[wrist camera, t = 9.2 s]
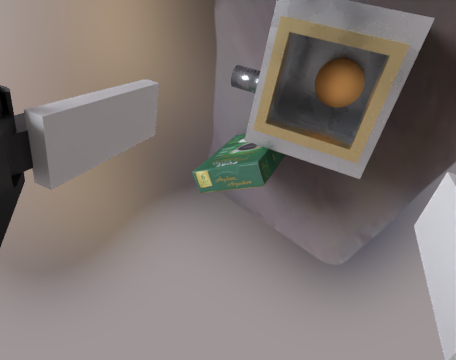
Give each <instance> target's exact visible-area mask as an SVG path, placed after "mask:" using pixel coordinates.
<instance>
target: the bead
mask: <svg viewBox="0 0 456 360" xmlns="http://www.w3.org/2000/svg"><path fill="white" fill-rule="evenodd" d="M364 83H365V78H364V73H363V71H362V69H361V67H360V66H359V65H358V64H357V63H355V62H354V61H352V60H350V59H345V58H339V59H334V60H332V61H329V62H328V63H326V64H325V65H324V66H323V67H322V68H321V69H320V70H319V72H318V74H317V76H316V79H315V92H316V95H317V97H318V98H319V100H320V101H321V102H322V103H324V104H325V105H327V106H330V107H335V108H340V107H345V106H347V105H350V104H351V103H353V102H354V101H355V100H356V99H357V98H358V97H359V96H360V94H361V93H362V91H363V88H364Z"/></svg>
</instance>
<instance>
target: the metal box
mask: <svg viewBox="0 0 456 360" xmlns="http://www.w3.org/2000/svg"><path fill="white" fill-rule="evenodd" d="M434 19H435V18H431V17H426V16H421V15H416V14H411V13H407V12H402V11H397V10H392V9H387V8H382V7H377V6H372V5H367V4H362V3H357V2H352V1H348V0H277V2H276V6H275V11H274V15H273V19H272V24H271V28H270V32H269V37H268V41H267V45H266V50H265V54H264V58H263V62H262V67H261V71H258V70H254V69H251V68H247V67H243V66H240V65H237V66H236V67H235V69H234V71H233V74H232V78H231V85H232V87H236V88H239V89H242V90H246V91H249V92H253V93H255V97H254V101H253V106H252V110H251V114H250V119H249V123H248V127H247V132H246V136H245V140H244V141H247V142H250V143H253V144H256V145H259V146H262V147H265V148H268V149H271V150H274V151H277V152H280V153H283V154H286V155H289V156H292V157H295V158H298V159H301V160H304V161H307V162H310V163H313V164H316V165H319V166H322V167H325V168H328V169H331V170H334V171H337V172H340V173H343V174H346V175H349V176H352V177H355V178H358V179H360V178H361V176H362V174H363V171H364V169H365V167H366V165H367V163H368V161H369V159H370V156H371V154H372V152H373V150H374V148H375V146H376V143H377V141H378V139H379V137H380V135H381V133H382V131H383V128H384V126H385V124H386V122H387V120H388V118H389V116H390V113H391V111H392V109H393V107H394V105H395V103H396V100H397V98H398V96H399V94H400V92H401V90H402V88H403V85H404V83H405V81H406V79H407V77H408V75H409V73H410V70H411V68H412V66H413V64H414V62H415V60H416V57H417V55H418V53H419V51H420V49H421V47H422V45H423V42H424V40H425V38H426V36H427V34H428V32H429V30H430V27H431V25H432V23H433V21H434ZM339 58H345V59H350V60H352V61H354V62H355V63H357V64H358V65H359V66H360V67H361V69H362V71H363V73H364V78H365V83H364V88H363V91H362V93H361V94H360V96H359V97H358V98H357V99H356V100H355V101H354V102H353V103H351V104H350V105H347V106H345V107H340V108H335V107H330V106H327V105H325V104H324V103H322V102H321V101H320V100H319V98H318V97H317V95H316V92H315V79H316V76H317V74H318V72H319V70H320V69H321V68H322V67H323V66H324V65H325V64H326V63H328V62H329V61H332V60H334V59H339Z"/></svg>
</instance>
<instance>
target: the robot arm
mask: <svg viewBox="0 0 456 360" xmlns="http://www.w3.org/2000/svg"><path fill="white" fill-rule="evenodd" d="M158 88H159V83H157V82H154V81H150V80H147V79H144V80H140V81H136V82H132V83H128V84H124V85H120V86H116V87H112V88H108V89H104V90H100V91H97V92H92V93H89V94H84V95H81V96H76V97H73V98H69V99H65V100H61V101H57V102H53V103H49V104H45V105H41V106H37V107H33V108H29V109H25V110H24V113H22V114H18V115H15V116H14V112H13V107H12V100H11V95H10V89H8V88H7V87H4V86H1V85H0V247H1V244H2V241H3V239H4V236H5V233H6V230H7V228H8V225H9V222H10V220H11V217H12V214H13V212H14V209H15V206H16V204H17V201H18V198H19V195H20V193H21V190H22V187H23V185H24V182H25V179H24V171H26V170H29V169H31V168H33V173H34V181H35V183H37V184H40V185H42V186H44V187H46V188H49V189H53V188H55V187H57V186H59V185H61V184H63V183H64V182H67V181H68V180H70V179H72V178H74V177H76V176H78V175H80V174H82V173H84V172H85V171H87V170H89V169H91V168H93V167H95V166H97V165H98V164H101V163H102V162H104V161H106V160H108V159H110V158H112V157H114V156H116V155H118V154H120V153H122V152H124V151H125V150H127V149H129V148H131V147H133V146H135V145H137V144H139V143H140V142H142V141H144V140H146V139H148V138H150V137H152V136H154V135H155V130H156V115H157V102H158ZM414 228H415V233H416V237H417V242H418V246H419V250H420V255H421V259H422V263H423V268H424V272H425V276H426V281H427V285H428V289H429V294H430V298H431V302H432V307H433V311H434V315H435V320H436V324H437V329H438V333H439V337H440V341H441V346H442V350H443V355H444V359H445V360H456V174H454V173H451V172H447V173H446V175H445V177H444V178H443V180H442V181H441V183H440V185H439V186H438V188H437V190H436V191H435V193H434V194H433V196H432V198H431V199H430V201H429V203H428V204H427V206H426V207H425V209H424V211H423V212H422V214H421V215H420V217H419V219H418V220H417V222H416V223H415V225H414Z"/></svg>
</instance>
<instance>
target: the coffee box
mask: <svg viewBox="0 0 456 360" xmlns="http://www.w3.org/2000/svg"><path fill="white" fill-rule="evenodd" d="M245 136H246V134H243V135H237V136H235V137H234V138H232V139H231V140H230V141H229V142H228V143H226V144H225V145H224V146H223V147H222V148H221V149H219V150H218V151H217V152H216V153H215V154H214V155H212V156H211V157H210V158H209V159H208V160H206V161H205V162H204V163H203V164H202V165H200V166H199V167H198V168H197V169H196V170H194V171H193V176H194V178H195V181H196V183H197V185H198V188H199V191H200V192H201V193H205V192H214V191H223V190H233V189H243V188H252V187H261V186H265V184H266V183H267V181H268V179H269V178H270V176H271V175H272V173H273V172H274V171H275V169H276V168H277V166H278V165H279V163H280V162H281V160H282V159H283V157H284V156H285V154H283V153H280V152H277V151H274V150H271V149H268V148H265V147H262V146H259V145H256V144H253V143H250V142H247V141H244V140H245Z"/></svg>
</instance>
